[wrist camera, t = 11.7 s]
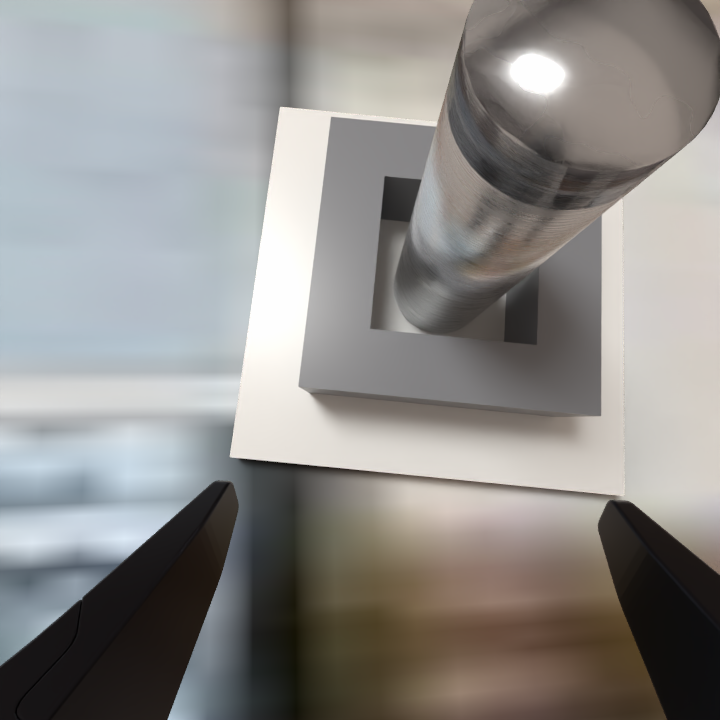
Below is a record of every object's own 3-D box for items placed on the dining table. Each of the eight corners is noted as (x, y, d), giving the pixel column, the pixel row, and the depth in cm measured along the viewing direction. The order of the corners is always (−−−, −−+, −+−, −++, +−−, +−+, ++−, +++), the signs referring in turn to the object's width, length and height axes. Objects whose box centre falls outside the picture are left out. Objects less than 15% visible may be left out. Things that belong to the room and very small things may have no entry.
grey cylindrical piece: (499, 313, 19) (772, 119, 7) (414, 346, 19) (530, 209, 6) (462, 231, 20) (648, -88, 7) (379, 262, 19) (422, -14, 7)
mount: (610, 492, 19) (690, 514, 14) (236, 455, 19) (199, 465, 14) (610, 152, 21) (676, 82, 17) (283, 121, 22) (265, 43, 17)
